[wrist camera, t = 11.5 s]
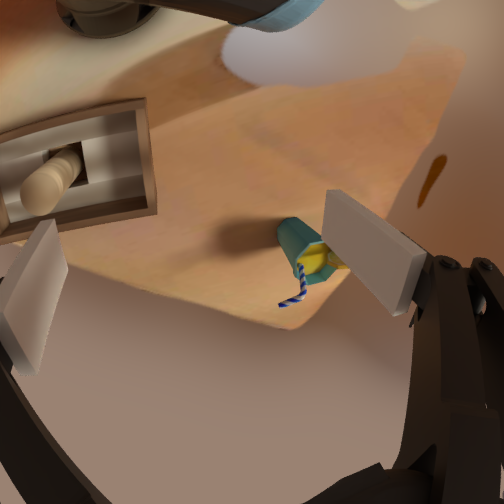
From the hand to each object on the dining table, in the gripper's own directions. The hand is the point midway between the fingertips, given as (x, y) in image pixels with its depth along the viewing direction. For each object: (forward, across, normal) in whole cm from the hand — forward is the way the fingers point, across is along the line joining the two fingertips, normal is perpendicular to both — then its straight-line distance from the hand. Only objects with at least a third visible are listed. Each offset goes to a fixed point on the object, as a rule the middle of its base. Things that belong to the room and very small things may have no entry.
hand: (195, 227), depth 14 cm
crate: (+31, -15, -2) cm, 35 cm away
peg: (+31, -15, -2) cm, 35 cm away
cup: (+32, +18, -18) cm, 41 cm away
